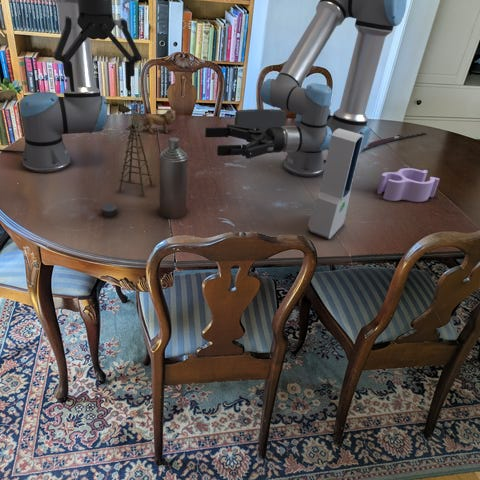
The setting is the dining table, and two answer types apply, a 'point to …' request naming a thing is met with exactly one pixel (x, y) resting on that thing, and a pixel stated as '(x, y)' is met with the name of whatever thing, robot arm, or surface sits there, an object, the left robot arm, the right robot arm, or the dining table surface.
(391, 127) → the dining table surface
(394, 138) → the sword
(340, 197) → the electronic device
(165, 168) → the bottle
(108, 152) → the dining table surface
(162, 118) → the lion figurine
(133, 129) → the miniature windmill
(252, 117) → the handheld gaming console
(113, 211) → the cap
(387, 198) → the clip
